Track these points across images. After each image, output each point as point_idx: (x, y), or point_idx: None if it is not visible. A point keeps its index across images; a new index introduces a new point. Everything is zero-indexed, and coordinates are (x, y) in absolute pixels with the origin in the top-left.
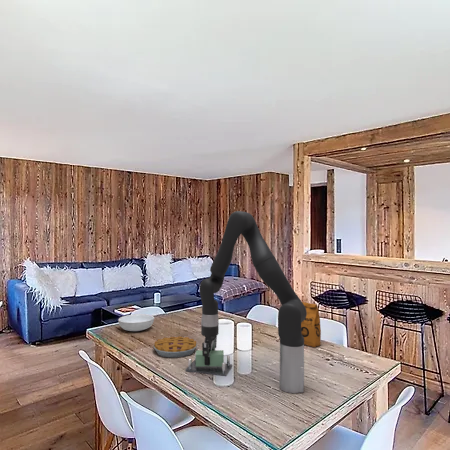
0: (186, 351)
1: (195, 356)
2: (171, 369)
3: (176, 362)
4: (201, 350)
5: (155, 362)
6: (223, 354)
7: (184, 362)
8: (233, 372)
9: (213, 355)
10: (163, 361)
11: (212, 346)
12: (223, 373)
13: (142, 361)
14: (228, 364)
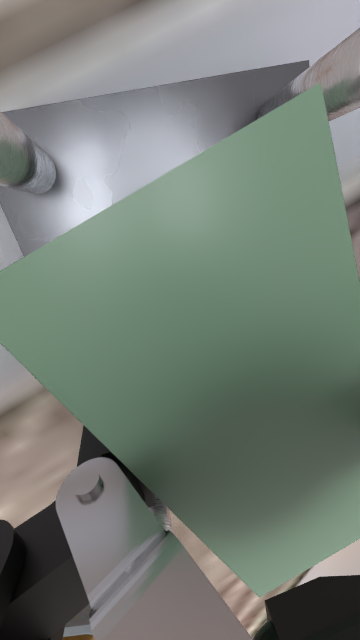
0: (86, 624)
1: (170, 525)
2: None
3: (199, 540)
4: (238, 569)
5: (246, 585)
6: (301, 103)
7: (175, 517)
8: (155, 14)
9: (355, 330)
10: (218, 578)
11: (318, 583)
12: None
13: (258, 613)
14: (46, 152)
